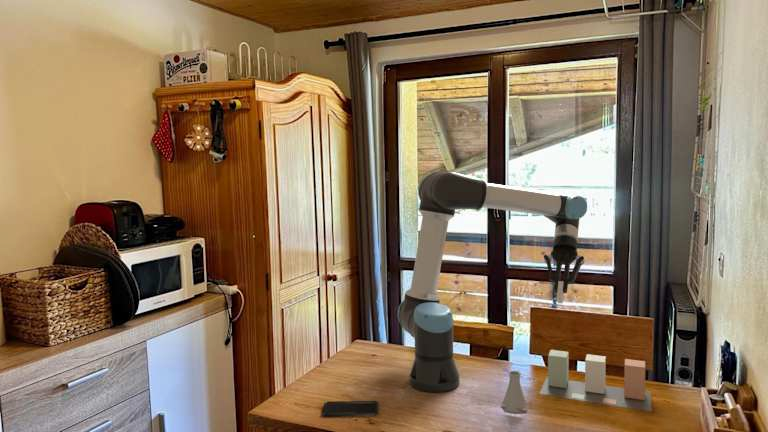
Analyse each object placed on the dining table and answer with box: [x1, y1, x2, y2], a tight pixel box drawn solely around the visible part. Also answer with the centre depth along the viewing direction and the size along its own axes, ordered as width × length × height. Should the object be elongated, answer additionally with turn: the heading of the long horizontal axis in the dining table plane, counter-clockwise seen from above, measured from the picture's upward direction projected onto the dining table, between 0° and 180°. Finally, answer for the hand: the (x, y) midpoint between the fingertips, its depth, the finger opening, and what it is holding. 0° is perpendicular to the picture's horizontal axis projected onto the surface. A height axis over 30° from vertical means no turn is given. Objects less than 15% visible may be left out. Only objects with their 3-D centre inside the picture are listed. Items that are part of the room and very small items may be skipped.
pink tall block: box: [623, 358, 646, 400], centre depth 143 cm, size 5×5×9 cm
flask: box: [500, 370, 528, 415], centre depth 141 cm, size 7×7×10 cm
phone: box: [321, 400, 379, 418], centre depth 142 cm, size 8×1×15 cm
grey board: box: [539, 376, 652, 412], centre depth 146 cm, size 28×13×2 cm, turn 64°
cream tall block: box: [584, 353, 607, 394], centre depth 147 cm, size 5×5×9 cm
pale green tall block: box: [547, 349, 570, 388], centre depth 152 cm, size 5×5×9 cm
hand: (559, 300), depth 164 cm, fingers closed
